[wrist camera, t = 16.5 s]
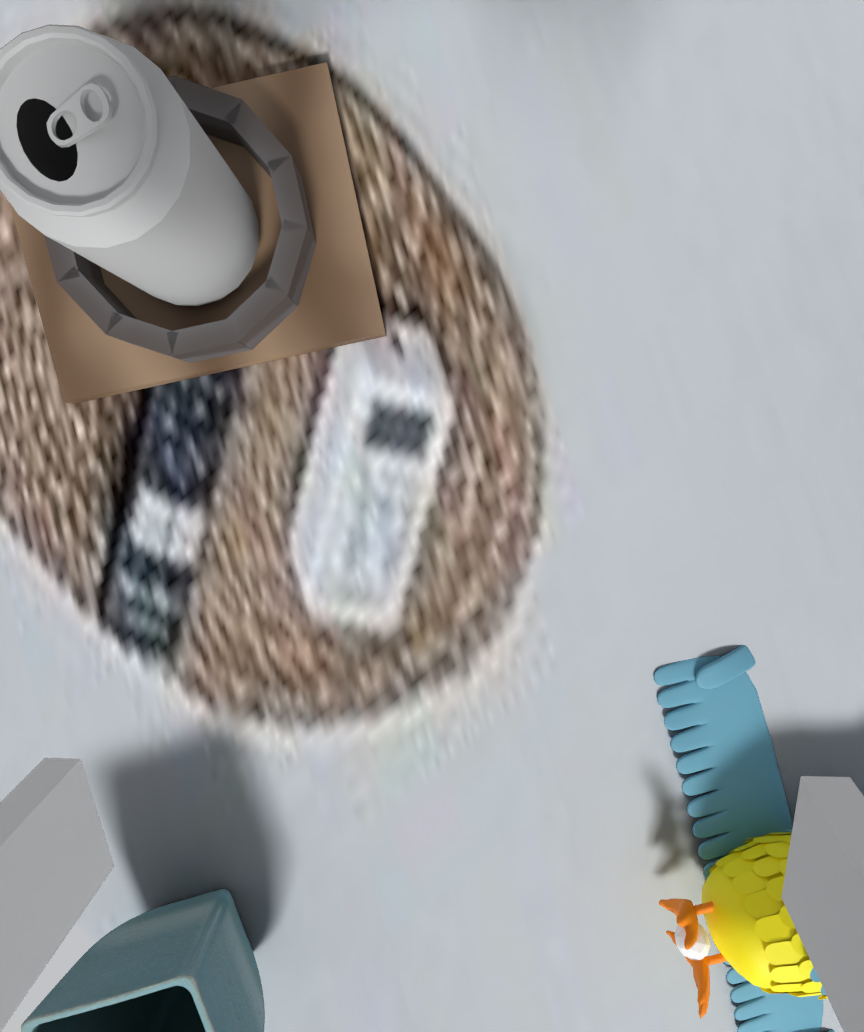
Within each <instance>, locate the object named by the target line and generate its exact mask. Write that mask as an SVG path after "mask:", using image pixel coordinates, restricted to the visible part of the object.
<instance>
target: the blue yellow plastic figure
mask: <svg viewBox="0 0 864 1032" xmlns="http://www.w3.org/2000/svg"><path fill="white" fill-rule="evenodd" d="M755 663H756V662H755V659H754V657H753V655H752V654H751V652H750V650H749V649H748V647H747V646H745V645H742V646H740V647H738V648H736V649H735V650H733V651H731V652H730V653H728V654H726V655H724V656H723V657H722V656H712V657H699V658H694V659H689V660H684V661H678V662H675V663H671V664H668V665H665V666H662V667H660V668H658V669H657V670H656V672H655V674H654V680H655V682H656V683H657V684H658V685H669V684H674V683H678V682H682V681H686V682H683V683H680V684H678V685H675V686H672V687H669V688H667V689H664V690H663V691H661V692H660V693H659V694H658V697H657V700H658V703H659V705H661V706H662V707H664V708H671V707H676V706H680V705H684V704H688V705H685V706H683V707H680V708H677V709H675V710H673V711H671V712H669V713H667V714H666V716H665V718H664V724H665V726H666V727H667V728H668V729H669V730H679V729H683V728H687V727H690V726H695V725H697V726H695V727H692V728H690V729H688V730H685V731H683V732H680V733H678V734H676V735H675V736H673V738H672V739H671V742H670V746H671V748H672V749H673V750H674V751H675V752H678V753H679V752H686V751H690V750H694V749H697V748H701V747H703V748H701V749H699V750H696V751H693V752H691V753H688V754H686V755H684V756H682V757H680V758H679V759H678V760H677V762H676V768H677V770H678V771H679V772H680V773H682V774H690V773H693V772H697V771H701V770H704V769H707V770H705V771H703V772H700V773H698V774H695V775H693V776H691V777H688V778H687V779H685V780H684V782H683V783H682V791H683V792H684V793H685V794H686V795H689V796H692V795H697V794H701V793H705V792H709V791H712V792H710V793H707V794H705V795H703V796H700V797H698V798H695V799H694V800H692V801H690V803H689V804H688V806H687V812H688V814H689V815H690V816H692V817H694V818H697V817H703V816H706V815H709V816H707V817H705V818H703V819H700V820H699V821H697V822H696V823H695V824H694V825H693V834H694V835H695V836H696V837H697V838H707V837H711V836H715V835H718V834H721V835H719V836H717V837H714V838H712V839H709V840H707V841H705V842H703V843H702V844H701V845H700V846H699V848H698V854H699V856H700V857H701V858H702V859H704V860H711V859H715V858H719V857H721V858H719V859H716V860H714V861H712V862H710V863H708V864H707V865H706V866H705V867H704V870H703V874H704V876H705V878H706V879H707V880H706V881H705V883H704V885H703V888H702V904H700V905H695V906H693V904H692V902H691V901H690V900H687V899H669V900H660V901H659V904H660V905H661V906H662V907H665V908H666V909H668V910H670V911H672V912H673V913H675V915H676V916H677V923H678V926H677V929H676V932H675V933H674V932H671V931H666V933H667V934H668V935H669V936H670V937H671V938H672V940H673V942H674V943H675V944H676V946H677V947H678V948H679V950H680V951H681V953H682V954H683V955H684V956H685V958H686V959H687V961H688V962H689V963H690V964H691V966H692V967H693V975H694V979H695V982H696V986H697V988H698V1004H699V1015H700V1019H701V1018H702V1016H704V1015H705V1014H706V1012H707V1007H708V1001H709V994H710V977H709V965H713V964H717V963H721V962H724V963H725V964H727V965H731V966H732V967H733V968H731V969H730V970H729V971H728V972H727V975H726V979H727V981H728V982H729V983H731V984H737V983H741V982H744V981H747V980H748V981H747V982H744V983H742V984H740V985H738V986H736V987H735V988H733V989H732V991H731V993H730V998H731V1000H732V1001H733V1002H736V1003H740V1002H744V1001H747V1000H749V1001H747V1002H745V1003H743V1004H741V1005H739V1006H738V1007H737V1008H736V1009H735V1011H734V1016H735V1018H736V1019H737V1020H740V1021H741V1020H746V1019H749V1018H752V1019H750V1020H748V1021H746V1022H744V1023H742V1024H741V1025H740V1026H739V1027H738V1030H737V1032H819V1031H820V1029H821V1024H822V1015H823V999H827V998H828V997H827V995H826V992H825V990H824V988H823V986H822V984H821V982H820V980H819V977H818V975H817V973H816V971H815V969H814V967H813V964H812V962H811V960H810V958H809V956H808V954H807V952H806V949H805V947H804V945H803V943H802V941H801V939H800V937H799V934H798V932H797V930H796V928H795V926H794V924H793V921H792V919H791V917H790V915H789V913H788V911H787V909H786V906H785V904H784V902H783V900H782V898H781V897H782V891H783V884H784V878H785V872H786V866H787V859H788V853H789V847H790V841H791V835H792V828H793V824H792V820H791V817H790V813H789V809H788V805H787V800H786V796H785V792H784V787H783V783H782V779H781V776H780V772H779V768H778V765H777V760H776V756H775V752H774V748H773V743H772V740H771V737H770V734H769V731H768V728H767V724H766V721H765V718H764V714H763V710H762V707H761V704H760V700H759V697H758V693H757V690H756V688H755V687H754V685H753V683H752V682H751V680H750V678H749V676H748V675H747V673H746V671H747V670H749V669H750V668H752V667H753V666H754V665H755ZM687 680H688V681H687ZM708 768H709V769H708ZM713 790H714V791H713ZM713 813H714V814H713ZM710 814H712V815H710ZM722 833H724V834H722ZM723 856H724V857H723ZM700 914H704V916H705V920H706V923H707V926H708V929H709V932H710V934H711V937H712V939H713V941H714V943H715V945H716V946H717V948H718V950H719V951H720V954H716V955H712V956H708V957H706V955H707V954H708V951H709V949H710V946H711V945H710V940H709V936H708V934H707V933H706V931H705V930H704V928H703V927H702V926H701V925H700V924H698V919H697V916H696V915H700ZM750 999H751V1000H750ZM753 1017H754V1018H753ZM828 1032H835V1031H834V1030H829V1031H828Z"/></svg>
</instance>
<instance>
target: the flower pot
mask: <svg viewBox="0 0 864 1032" xmlns="http://www.w3.org/2000/svg"><path fill="white" fill-rule="evenodd" d="M264 1022H265V1011H264V999H263V991H262V985H261V980H260V975H259V971H258V968H257V964H256V961H255V957H254V953H253V951H252V948H251V946H250V943H249V941H248V938H247V935H246V933H245V930H244V928H243V925H242V922H241V920H240V917H239V915H238V912H237V909H236V906H235V903H234V900H233V898H232V895H231V893H230V892H229V891H228V890H227V889H219V890H216V891H212V892H209V893H205V894H202V895H198V896H195V897H192V898H189V899H185V900H182V901H178V902H174V903H170V904H167V905H164V906H160V907H157V908H154V909H152V910H150V911H148V912H145V913H143V914H141V915H139V916H137V917H135V918H132V919H131V920H129V921H127V922H125V923H123V924H122V925H120V926H118V927H117V928H115V929H114V930H112V931H111V932H109V933H108V934H107V935H105V936H104V937H103V938H101V939H100V940H99V941H98V942H97V943H95V944H94V945H93V946H92V947H91V948H90V949H89V950H88V951H87V952H86V953H85V954H84V955H83V956H82V957H81V958H80V959H79V960H78V962H77V963H76V964H75V965H74V966H73V967H72V968H71V969H70V970H69V972H68V973H67V974H66V975H65V976H64V977H63V978H62V979H61V980H60V982H59V983H58V984H57V985H56V986H55V987H54V988H53V989H52V991H51V992H50V993H49V994H48V995H47V996H46V998H44V1000H43V1001H42V1002H41V1003H40V1004H39V1005H38V1006H37V1008H36V1009H35V1010H34V1011H33V1012H32V1013H31V1015H30V1016H29V1017H28V1018H27V1019H26V1020H25V1021H24V1023H23V1024H22V1025H21V1032H264Z"/></svg>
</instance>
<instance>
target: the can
mask: <svg viewBox="0 0 864 1032" xmlns="http://www.w3.org/2000/svg"><path fill="white" fill-rule="evenodd" d="M0 190H1V191H2V192H3V194H4V195H5V197H6V198H7V199H8V201H9V202H10V204H11V205H12V206H13V208H14V209H15V211H16V212H17V213H18V215H19V216H21V217H22V218H23V219H25V220H26V221H27V222H28V223H30V224H31V225H32V226H34V227H35V228H36V229H37V230H39V231H40V232H41V233H43V234H44V235H45V236H47V237H49V238H51V239H52V240H54V241H56V242H58V243H60V244H61V245H63V246H65V247H67V248H68V249H70V250H72V251H74V252H76V253H77V254H79V255H81V256H83V257H84V258H86V259H88V260H90V261H92V262H93V263H95V264H97V265H99V266H100V267H102V268H104V269H106V270H107V271H109V272H111V273H113V274H115V275H116V276H118V277H120V278H122V279H123V280H125V281H127V282H129V283H131V284H132V285H134V286H136V287H138V288H139V289H141V290H143V291H145V292H147V293H148V294H150V295H152V296H154V297H156V298H158V299H161V300H164V301H166V302H169V303H172V304H174V305H183V306H201V305H204V304H208V303H211V302H215V301H218V300H221V299H222V298H223V297H225V296H226V295H228V294H229V293H231V292H232V291H233V290H235V289H236V288H238V287H239V285H240V284H241V283H242V281H243V280H244V279H245V277H246V276H247V274H248V273H249V272H250V270H251V269H252V266H253V263H254V260H255V257H256V254H257V251H258V247H259V223H258V219H257V216H256V213H255V209H254V206H253V203H252V200H251V199H250V197H249V196H248V194H247V193H246V191H245V190H244V188H243V187H242V185H241V184H240V182H239V181H238V179H237V178H236V176H235V175H234V174H233V172H232V171H231V169H230V168H229V166H228V165H227V164H226V162H225V161H224V159H223V158H222V156H221V155H220V153H219V152H218V151H217V149H216V148H215V146H214V145H213V143H212V142H211V141H210V139H209V138H208V136H207V135H206V133H205V132H204V130H203V129H202V128H201V126H200V125H199V123H198V122H197V120H196V119H195V118H194V116H193V115H192V113H191V112H190V110H189V109H188V108H187V106H186V105H185V103H184V102H183V100H182V99H181V97H180V96H179V95H178V93H177V92H176V90H175V89H174V87H173V86H172V85H171V83H170V82H169V80H168V79H167V77H166V76H165V75H164V73H163V72H162V70H161V69H160V68H159V67H158V66H157V65H155V64H154V63H153V62H152V61H150V60H149V59H148V58H147V57H145V56H144V55H143V54H142V53H141V52H139V51H138V50H137V49H136V48H134V47H132V46H130V45H127V44H125V43H122V42H120V41H117V40H115V39H112V38H109V37H107V36H104V35H100V34H97V33H95V32H92V31H90V30H87V29H85V28H82V27H79V26H68V25H46V26H43V27H40V28H36V29H33V30H30V31H27V32H23V33H21V34H20V35H18V36H17V37H16V38H14V39H13V40H12V41H10V42H9V43H8V44H6V45H5V46H4V47H2V48H1V49H0Z"/></svg>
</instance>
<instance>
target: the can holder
mask: <svg viewBox="0 0 864 1032" xmlns="http://www.w3.org/2000/svg"><path fill="white" fill-rule="evenodd" d="M167 79H168V80H169V82H170V83H171V85H172V86H173V87H174V89H175V90H176V92H177V93H178V95H179V96H180V97H181V99H182V100H183V102H184V103H185V105H186V106H187V108H188V109H189V110H190V112H191V113H192V115H193V116H194V118H195V119H196V120H197V122H198V123H199V125H200V126H201V128H202V129H203V130H204V132H205V133H206V135H207V136H208V138H209V139H210V141H211V142H212V143H213V145H214V146H215V148H216V149H217V151H218V152H219V153H220V155H221V156H222V158H223V159H224V161H225V162H226V164H227V165H228V166H229V168H230V169H231V171H232V172H233V174H234V175H235V176H236V178H237V179H238V181H239V182H240V184H241V185H242V187H243V188H244V190H245V191H246V193H247V194H248V196H249V197H250V199H251V200H252V203H253V206H254V209H255V213H256V216H257V219H258V223H259V247H258V251H257V254H256V257H255V260H254V263H253V266H252V269H251V270H250V272H249V273H248V274H247V276H246V277H245V279H244V280H243V281H242V283H241V284H240V285H239V287H238V288H236V289H235V290H233V291H232V292H231V293H229V294H228V295H226V296H225V297H223V298H222V299H221V300H218V301H215V302H211V303H208V304H204V305H201V306H183V305H174V304H172V303H169V302H166V301H164V300H161V299H158V298H156V297H154V296H152V295H150V294H148V293H147V292H145V291H143V290H141V289H139V288H138V287H136V286H134V285H132V284H131V283H129V282H127V281H125V280H123V279H122V278H120V277H118V276H116V275H115V274H113V273H111V272H109V271H107V270H106V269H104V268H102V267H100V266H99V265H97V264H95V263H93V262H92V261H90V260H88V259H86V258H84V257H83V256H81V255H79V254H77V253H76V252H74V251H72V250H70V249H68V248H67V247H65V246H63V245H61V244H60V243H58V242H56V241H54V240H52V239H51V238H49V237H47V236H45V235H44V234H43V233H41V232H40V231H39V230H37V229H36V228H35V227H34V226H32V225H31V224H30V223H28V222H27V221H26V220H25V219H23V218H22V217H21V216H19V215H18V213H17V212H16V211H15V209H14V208H13V206H12V205H11V204H10V206H11V210H12V214H13V217H14V221H15V225H16V228H17V232H18V236H19V239H20V243H21V246H22V250H23V254H24V257H25V261H26V265H27V268H28V272H29V276H30V279H31V283H32V287H33V290H34V294H35V297H36V301H37V305H38V308H39V312H40V316H41V319H42V323H43V327H44V330H45V334H46V337H47V341H48V345H49V348H50V352H51V356H52V359H53V363H54V367H55V370H56V374H57V377H58V381H59V385H60V388H61V392H62V396H63V399H64V402H66V403H74V404H75V403H80V402H84V401H89V400H94V399H98V398H103V397H107V396H112V395H117V394H121V393H126V392H130V391H135V390H140V389H144V388H149V387H153V386H158V385H163V384H167V383H172V382H176V381H181V380H186V379H190V378H195V377H199V376H204V375H209V374H213V373H218V372H222V371H227V370H232V369H236V368H241V367H245V366H250V365H255V364H259V363H264V362H268V361H273V360H278V359H282V358H287V357H291V356H296V355H301V354H305V353H310V352H315V351H319V350H324V349H328V348H333V347H338V346H342V345H347V344H351V343H356V342H361V341H365V340H370V339H374V338H379V337H384V336H386V332H385V327H384V323H383V318H382V313H381V309H380V304H379V299H378V295H377V290H376V286H375V281H374V276H373V272H372V267H371V262H370V258H369V253H368V248H367V244H366V239H365V235H364V230H363V225H362V221H361V216H360V211H359V207H358V202H357V198H356V193H355V188H354V184H353V179H352V174H351V170H350V165H349V160H348V156H347V151H346V147H345V142H344V137H343V133H342V128H341V123H340V119H339V114H338V109H337V105H336V100H335V96H334V91H333V86H332V82H331V77H330V73H329V69H328V65H327V62H325V63H321V64H316V65H312V66H307V67H303V68H298V69H294V70H289V71H285V72H281V73H276V74H272V75H267V76H263V77H258V78H254V79H249V80H245V81H240V82H236V83H231V84H227V85H222V86H218V87H213V88H208V87H205V86H202V85H199V84H196V83H194V82H191V81H188V80H185V79H182V78H179V77H176V76H170V77H167ZM9 203H10V202H9Z"/></svg>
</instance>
